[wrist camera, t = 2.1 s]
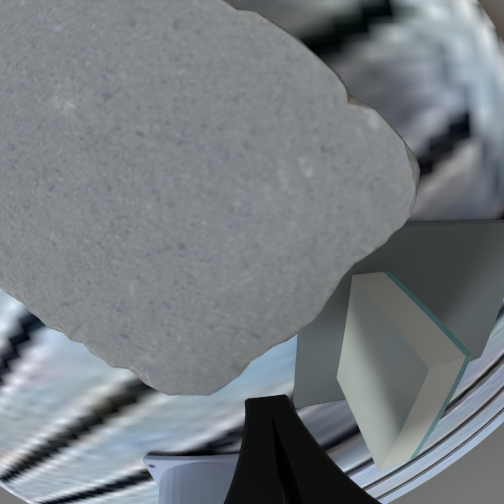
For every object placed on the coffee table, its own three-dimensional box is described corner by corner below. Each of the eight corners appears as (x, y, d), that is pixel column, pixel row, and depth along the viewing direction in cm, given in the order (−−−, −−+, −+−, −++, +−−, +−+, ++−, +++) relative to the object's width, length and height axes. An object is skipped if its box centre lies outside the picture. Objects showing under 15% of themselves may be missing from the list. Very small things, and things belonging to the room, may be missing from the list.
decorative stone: (299, 289, 14) (369, 66, 10) (350, 414, 7) (499, 42, 4) (-4, 225, 11) (27, 13, 7) (-98, 299, 5) (-79, -20, 1)
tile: (367, 371, 15) (414, 457, 10) (336, 377, 15) (378, 470, 9) (388, 271, 13) (472, 354, 7) (352, 275, 13) (429, 369, 7)
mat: (475, 352, 17) (480, 357, 17) (293, 400, 16) (295, 408, 15) (516, 219, 14) (522, 222, 13) (301, 227, 12) (306, 232, 12)
